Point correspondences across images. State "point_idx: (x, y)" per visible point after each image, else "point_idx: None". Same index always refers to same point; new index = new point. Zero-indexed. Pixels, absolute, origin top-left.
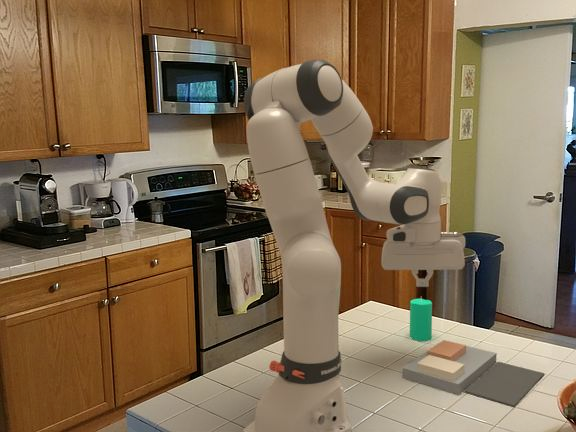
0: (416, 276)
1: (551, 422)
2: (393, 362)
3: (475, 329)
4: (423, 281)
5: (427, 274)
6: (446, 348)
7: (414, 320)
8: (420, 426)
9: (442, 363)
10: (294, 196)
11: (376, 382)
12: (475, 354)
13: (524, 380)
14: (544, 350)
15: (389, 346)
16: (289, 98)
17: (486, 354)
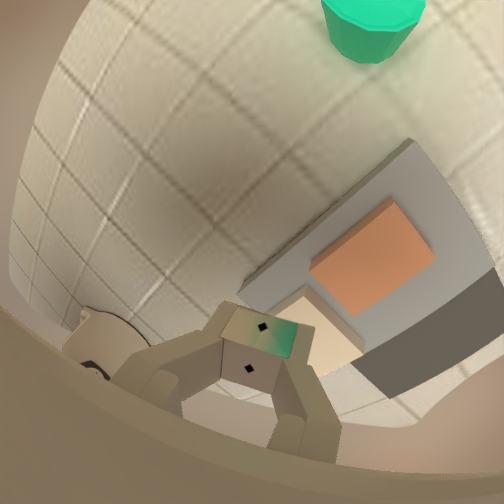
0: (183, 396)
1: (404, 422)
2: (240, 200)
3: None
4: (254, 382)
5: (296, 395)
6: (370, 268)
7: (335, 32)
8: (240, 398)
9: (316, 341)
10: None
11: (192, 286)
12: (447, 261)
13: (468, 342)
14: None
15: (249, 90)
16: None
17: (471, 267)
